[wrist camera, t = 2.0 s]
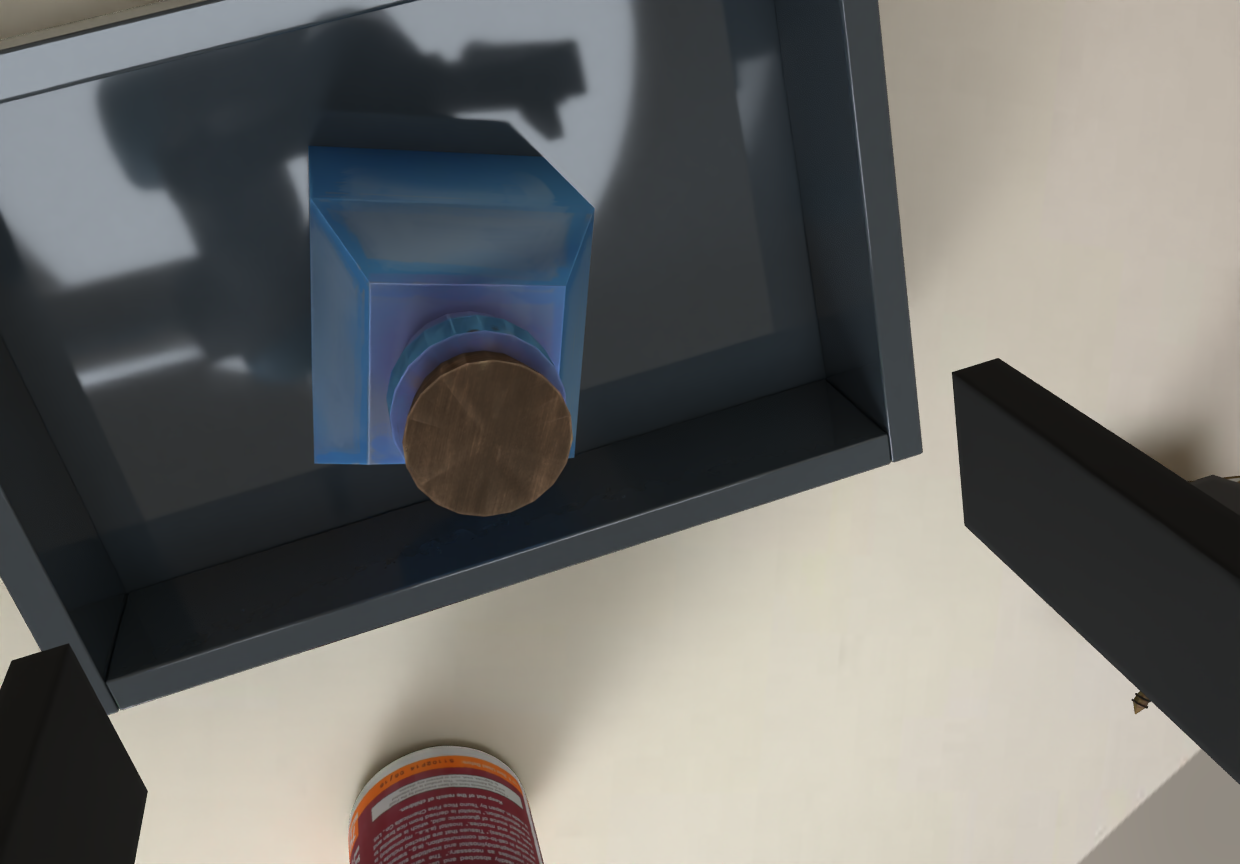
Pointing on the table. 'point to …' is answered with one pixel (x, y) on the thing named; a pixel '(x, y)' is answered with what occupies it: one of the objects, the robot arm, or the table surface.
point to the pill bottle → (443, 812)
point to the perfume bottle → (448, 319)
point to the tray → (281, 301)
